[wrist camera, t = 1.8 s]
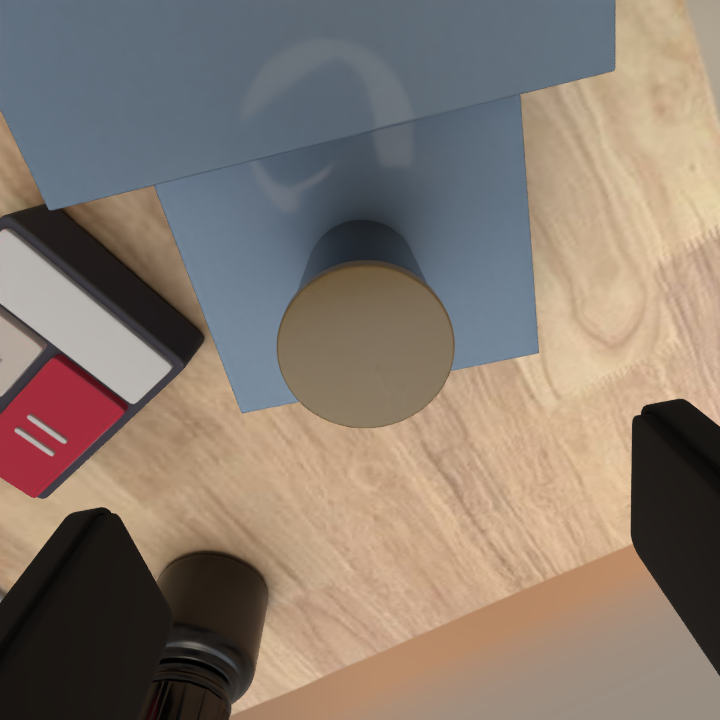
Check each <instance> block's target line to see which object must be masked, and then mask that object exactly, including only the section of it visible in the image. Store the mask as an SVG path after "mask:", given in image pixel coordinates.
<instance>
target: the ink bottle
mask: <svg viewBox="0 0 720 720" xmlns="http://www.w3.org/2000/svg"><path fill="white" fill-rule="evenodd" d="M156 583H157V585H158V586H159V588H160V590H161V592H162V594H163V595H164V597H165V599H166V601H167V603H168V604H169V606H170V608H171V610H172V614H173V627H172V631H171V634H170V636H169V639H168V642H167V644H166V647H165V650H164V652H163V655H162V658H161V660H160V663H159V666H158V668H157V671H156V673H155V676H154V679H153V681H152V684H151V687H150V689H149V692H148V695H147V697H146V700H145V703H144V705H143V708H142V711H141V713H140V716H139V719H138V720H229V717H230V714H231V704H233V703H235V702H236V701H237V700H238V699H240V698H241V697H242V696H243V695H244V694H245V692H246V691H247V690H248V688H249V687H250V685H251V683H252V680H253V677H254V674H255V670H256V664H257V659H258V653H259V648H260V642H261V637H262V632H263V626H264V621H265V615H266V610H267V604H268V594H267V589H266V587H265V585H264V583H263V581H262V580H261V579H260V578H259V576H258V575H257V574H256V573H254V572H253V571H252V570H251V569H249V568H248V567H246V566H245V565H243V564H241V563H239V562H237V561H234V560H232V559H229V558H226V557H222V556H218V555H210V554H200V555H193V556H189V557H186V558H183V559H181V560H178V561H177V562H175V563H173V564H172V565H170V566H169V567H168V568H167V569H166V570H165V571H164V572H163V573H162V574H161V575H160V577H159V578H158V580H157V582H156Z"/></svg>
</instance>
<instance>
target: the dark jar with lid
mask: <svg viewBox="0 0 720 720" xmlns="http://www.w3.org/2000/svg"><path fill="white" fill-rule="evenodd" d="M276 351H277V360H278V364H279V368H280V371H281V374H282V376H283V379H284V381H285V383H286V384H287V386H288V388H289V390H290V391H291V392H292V393H293V395H294V396H295V397H296V399H297V400H298V401H299V402H300V403H301V404H302V405H303V406H305V407H306V408H307V409H308V410H310V411H311V412H312V413H314V414H316V415H317V416H319V417H321V418H323V419H325V420H327V421H330V422H332V423H335V424H339V425H342V426H347V427H353V428H376V427H383V426H387V425H391V424H395V423H397V422H400V421H403V420H405V419H407V418H409V417H411V416H413V415H414V414H416V413H417V412H419V411H420V410H422V409H423V408H424V407H425V406H427V405H428V404H429V403H430V402H431V401H432V400H433V399H434V398H435V397H436V395H437V394H438V393H439V391H440V390H441V389H442V387H443V386H444V384H445V382H446V380H447V378H448V376H449V373H450V371H451V368H452V364H453V360H454V353H455V338H454V331H453V327H452V323H451V320H450V318H449V315H448V313H447V311H446V309H445V307H444V305H443V303H442V302H441V300H440V298H439V297H438V295H437V294H436V293H435V291H434V290H433V289H432V288H431V287H430V286H429V285H428V283H427V281H426V279H425V277H424V275H423V273H422V271H421V269H420V267H419V265H418V263H417V261H416V259H415V257H414V255H413V253H412V251H411V249H410V247H409V245H408V244H407V242H406V241H405V240H404V238H403V237H402V236H401V235H400V234H399V233H397V232H396V231H395V230H394V229H392V228H390V227H389V226H387V225H385V224H382V223H380V222H376V221H372V220H352V221H348V222H344V223H341V224H339V225H337V226H335V227H333V228H332V229H330V230H329V231H327V232H326V233H325V234H324V235H323V236H322V237H321V238H320V239H319V240H318V242H317V243H316V245H315V246H314V248H313V250H312V252H311V254H310V257H309V260H308V262H307V265H306V268H305V271H304V274H303V276H302V279H301V282H300V285H299V288H298V290H297V292H296V293H295V295H294V296H293V298H292V299H291V301H290V302H289V304H288V306H287V308H286V310H285V312H284V315H283V317H282V320H281V323H280V326H279V330H278V335H277V347H276Z"/></svg>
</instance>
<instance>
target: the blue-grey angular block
mask: <svg viewBox="0 0 720 720" xmlns="http://www.w3.org/2000/svg"><path fill="white" fill-rule="evenodd" d="M614 70H615V0H0V110H1V112H2V114H3V116H4V118H5V120H6V122H7V124H8V127H9V129H10V131H11V133H12V135H13V137H14V139H15V141H16V143H17V145H18V147H19V149H20V151H21V154H22V156H23V158H24V160H25V162H26V164H27V166H28V168H29V170H30V172H31V174H32V176H33V178H34V180H35V183H36V185H37V187H38V189H39V191H40V193H41V195H42V197H43V199H44V201H45V203H46V205H47V207H48V209H49V210H56V209H60V208H64V207H68V206H72V205H76V204H80V203H84V202H88V201H93V200H97V199H101V198H105V197H109V196H113V195H117V194H121V193H125V192H129V191H133V190H137V189H141V188H145V187H149V186H153V185H154V187H155V189H156V192H157V195H158V197H159V200H160V202H161V205H162V208H163V210H164V213H165V215H166V218H167V221H168V223H169V226H170V228H171V231H172V234H173V236H174V239H175V241H176V244H177V247H178V249H179V252H180V254H181V257H182V260H183V262H184V265H185V267H186V270H187V273H188V275H189V278H190V280H191V283H192V286H193V288H194V291H195V293H196V296H197V299H198V301H199V304H200V306H201V309H202V312H203V314H204V317H205V319H206V322H207V325H208V327H209V330H210V332H211V335H212V338H213V340H214V343H215V345H216V348H217V351H218V353H219V356H220V358H221V361H222V364H223V366H224V369H225V371H226V374H227V377H228V379H229V382H230V384H231V387H232V390H233V392H234V395H235V397H236V400H237V403H238V405H239V408H240V410H241V413H246V412H251V411H256V410H261V409H266V408H271V407H276V406H281V405H286V404H290V403H295V402H299V401H298V400H297V399H296V397H295V396H294V395H293V393H292V392H291V391H290V390H289V388H288V386H287V384H286V383H285V381H284V379H283V376H282V374H281V371H280V368H279V364H278V360H277V351H276V347H277V335H278V330H279V326H280V323H281V320H282V317H283V315H284V312H285V310H286V308H287V306H288V304H289V302H290V301H291V299H292V298H293V296H294V295H295V293H296V292H297V290H298V288H299V285H300V282H301V279H302V276H303V274H304V271H305V268H306V265H307V262H308V260H309V257H310V254H311V252H312V250H313V248H314V246H315V245H316V243H317V242H318V240H319V239H320V238H321V237H322V236H323V235H324V234H325V233H326V232H327V231H329V230H330V229H332V228H333V227H335V226H337V225H339V224H341V223H344V222H348V221H352V220H372V221H376V222H380V223H382V224H385V225H387V226H389V227H390V228H392V229H394V230H395V231H396V232H397V233H399V234H400V235H401V236H402V237H403V238H404V240H405V241H406V242H407V244H408V245H409V247H410V249H411V251H412V253H413V255H414V257H415V259H416V261H417V263H418V265H419V267H420V269H421V271H422V273H423V275H424V277H425V279H426V281H427V283H428V285H429V286H430V287H431V288H432V289H433V290H434V291H435V293H436V294H437V295H438V297H439V298H440V300H441V302H442V303H443V305H444V307H445V309H446V311H447V313H448V315H449V318H450V320H451V323H452V327H453V331H454V338H455V353H454V360H453V364H452V368H451V371H453V370H458V369H463V368H468V367H473V366H477V365H482V364H487V363H492V362H497V361H502V360H507V359H512V358H517V357H522V356H527V355H532V354H537V353H539V345H538V332H537V318H536V304H535V291H534V277H533V263H532V250H531V236H530V222H529V209H528V195H527V181H526V168H525V154H524V141H523V127H522V113H521V100H520V94H523V93H528V92H532V91H536V90H540V89H544V88H548V87H552V86H556V85H560V84H564V83H568V82H572V81H576V80H580V79H584V78H588V77H592V76H596V75H600V74H604V73H608V72H612V71H614Z"/></svg>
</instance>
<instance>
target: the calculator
mask: <svg viewBox="0 0 720 720" xmlns="http://www.w3.org/2000/svg"><path fill="white" fill-rule="evenodd" d="M203 341H204V338H203V336H202V335H201V334H200V333H199V332H198V331H197V330H196V329H195V328H194V327H193V326H191V325H190V324H189V323H188V322H187V321H186V320H185V319H183V318H182V317H181V316H180V315H179V314H178V313H177V312H175V311H174V310H173V309H172V308H171V307H170V306H169V305H167V304H166V303H165V302H164V301H163V300H162V299H161V298H159V297H158V296H157V295H156V294H155V293H154V292H153V291H152V290H150V289H149V288H148V287H147V286H146V285H145V284H144V283H142V282H141V281H140V280H139V279H138V278H137V277H136V276H134V275H133V274H132V273H131V272H130V271H129V270H128V269H126V268H125V267H124V266H123V265H122V264H121V263H120V262H118V261H117V260H116V259H115V258H114V257H113V256H112V255H110V254H109V253H108V252H107V251H106V250H105V249H104V248H102V247H101V246H100V245H99V244H98V243H97V242H96V241H94V240H93V239H92V238H91V237H90V236H89V235H88V234H87V233H85V232H84V231H83V230H82V229H81V228H80V227H79V226H77V225H76V224H75V223H74V222H73V221H72V220H71V219H69V218H68V217H67V216H66V215H65V214H64V213H63V212H61V211H60V210H59V209H56V210H49V209H48V207H47V205H46V204H43V205H39V206H35V207H32V208H28V209H25V210H21V211H18V212H14V213H11V214H7V215H4V216H2V217H1V218H0V477H1V478H2V479H4V480H5V481H7V482H8V483H10V484H11V485H13V486H15V487H16V488H18V489H19V490H21V491H22V492H24V493H25V494H27V495H29V496H30V497H33V498H36V497H38V498H41V499H44V498H47V497H48V496H49V495H50V494H51V493H53V492H54V491H55V490H56V489H57V488H58V487H59V486H60V485H61V484H62V483H63V482H64V481H65V480H66V479H67V478H68V477H69V476H71V475H72V474H73V473H74V472H75V471H76V470H77V469H78V468H79V467H80V466H81V465H82V464H83V463H84V462H85V461H86V460H88V459H89V458H90V457H91V456H92V455H93V454H94V453H95V452H96V451H97V450H98V449H99V448H100V447H101V446H102V445H103V444H105V443H106V442H107V441H108V440H109V439H110V438H111V437H112V436H113V435H114V434H115V433H116V432H117V431H118V430H119V429H120V428H122V427H123V426H124V425H125V424H126V423H127V422H128V421H129V420H130V419H131V418H132V417H133V416H134V415H135V414H136V413H137V412H139V411H140V410H141V409H142V408H143V407H144V406H145V405H146V404H147V403H148V402H149V401H150V400H151V399H152V398H153V397H154V396H156V395H157V394H158V393H159V392H160V391H161V390H162V389H163V388H164V387H165V386H166V385H167V384H168V383H169V382H170V381H171V380H172V379H174V378H175V377H176V376H177V375H178V374H179V373H180V372H181V371H182V370H183V369H184V368H185V366H186V365H187V364H188V362H189V361H190V360H191V358H192V357H193V356H194V354H195V353H196V352H197V350H198V349H199V347H200V346H201V345H202V343H203Z"/></svg>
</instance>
